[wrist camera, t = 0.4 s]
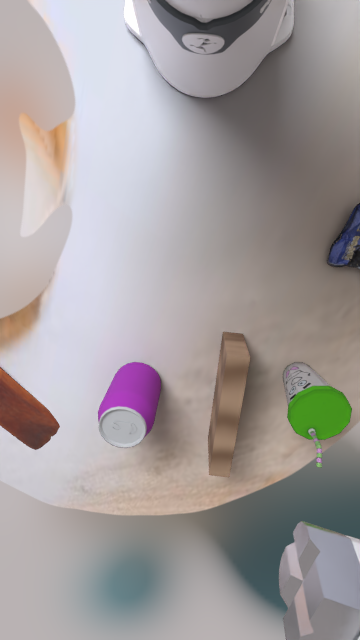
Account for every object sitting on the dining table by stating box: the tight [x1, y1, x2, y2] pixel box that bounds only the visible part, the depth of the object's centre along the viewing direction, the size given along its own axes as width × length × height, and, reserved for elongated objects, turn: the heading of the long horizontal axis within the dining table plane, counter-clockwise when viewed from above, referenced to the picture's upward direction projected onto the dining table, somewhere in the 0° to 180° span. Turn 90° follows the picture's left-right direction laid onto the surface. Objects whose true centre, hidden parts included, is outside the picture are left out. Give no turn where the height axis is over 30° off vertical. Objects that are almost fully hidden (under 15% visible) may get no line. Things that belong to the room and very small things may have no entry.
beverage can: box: [98, 362, 161, 448], centre depth 48 cm, size 8×8×12 cm
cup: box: [283, 362, 352, 467], centre depth 44 cm, size 8×8×15 cm
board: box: [208, 332, 250, 477], centre depth 49 cm, size 20×3×8 cm, turn 175°
